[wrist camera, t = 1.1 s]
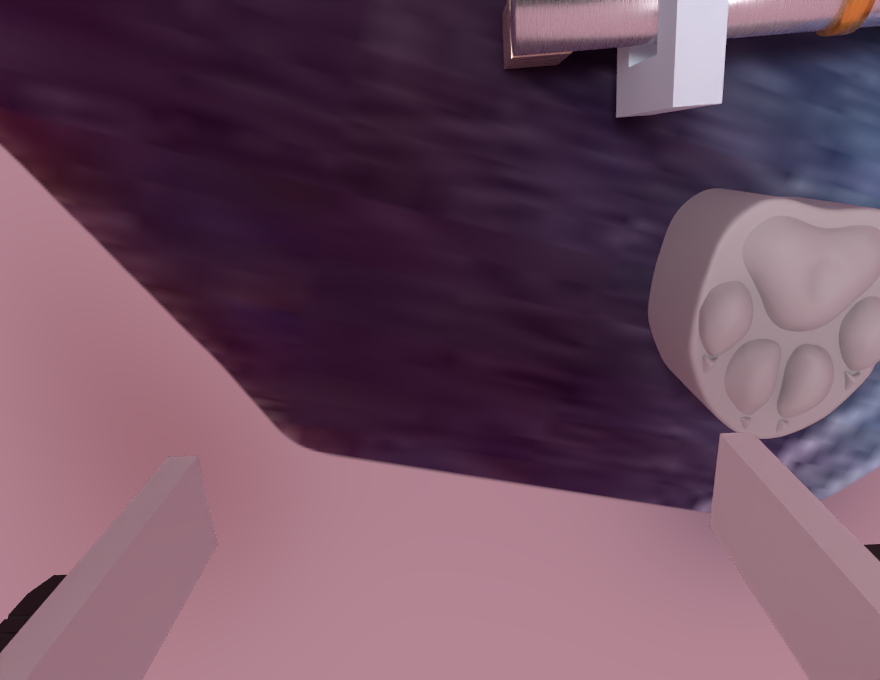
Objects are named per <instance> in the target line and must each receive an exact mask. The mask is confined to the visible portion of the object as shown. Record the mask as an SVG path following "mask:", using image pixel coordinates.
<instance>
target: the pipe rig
mask: <svg viewBox="0 0 880 680" xmlns="http://www.w3.org/2000/svg"><path fill="white" fill-rule="evenodd" d="M658 8H659V0H507V3H506V5H505V8H504V11H503V14H502V25H503V53H504V69H514V68H527V67H539V66H551V65H558V64H559V63H560V62H561V61H563V60H564V59H565V58H566V57H568V56H569V55H570V54H571V53H572V51H582V50H594V49H606V48H619V47H631V46H643V45H655V44H657V36H658ZM873 26H880V0H729V6H728V21H727V35H726V39H728V38H740V37H752V36H764V35H776V34H788V33H800V32H812V31H814V32H815V33H816V34H817V35H819V36H835V35H846V34H850V33H852V32H854V31H856V30H857V29H858V28H861V27H873Z"/></svg>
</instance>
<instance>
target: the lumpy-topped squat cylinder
mask: <svg viewBox="0 0 880 680" xmlns="http://www.w3.org/2000/svg"><path fill="white" fill-rule="evenodd" d="M648 321H649V325H650V329H651V332H652V335H653V338H654V341H655V344H656V346H657V349H658V351H659V353H660V356H661V358H662V359H663V361H664V363H665V364H666V365H667V367H668V368H669V369H670V370H671V371H672V372H673V373H674V374H675V375H676V376H677V378H678V379H679V380H680V381H681V382H682V383H683V384H684V385H685V386H686V387H687V388H688V389H689V390H690V391H691V392H692V393H693V394H694V395H695V396H696V397H697V398H698V399H699V400H700V401H701V402H702V403H703V404H704V405H705V406H706V407H707V408H708V409H709V410H710V411H711V412H712V413H713V414H714V415H715V416H716V417H717V418H718V419H719V420H720V421H721V422H723V423H724V424H725V425H726V426H728V427H729V428H730V429H732V430H733V431H735V432H737V433H742V432H752V433H753V434H754V435H755V436H756V437H757V438H759V439H769V438H776V437H781V436H785V435H788V434H791V433H794V432H796V431H799V430H801V429H803V428H805V427H807V426H809V425H811V424H813V423H815V422H817V421H819V420H821V419H822V418H824V417H825V416H827V415H828V414H829V413H831V412H832V411H833V410H834V409H836V408H837V407H838V406H839V405H840V404H841V403H842V402H844V401H845V400H846V399H847V398H848V397H849V396H850V395H851V394H852V393H853V392H854V391H855V390H856V389H857V388H858V387H859V386H860V385H861V384H862V383H863V382H864V381H865V380H866V378H867V377H868V376H869V375H870V373H871V372H872V370H873V368H874V366H875V364H876V363H877V362H878V361H880V209H876V208H870V207H861V206H856V205H850V204H843V203H836V202H829V201H822V200H815V199H808V198H801V197H793V196H784V197H776V196H771V195H763V194H756V193H749V192H742V191H736V190H729V189H722V188H714V189H708V190H705V191H702V192H700V193H698V194H696V195H695V196H693V197H692V198H690V199H689V200H688V201H687V202H686V203H685V204H683V205H682V207H681V208H680V209H679V210H678V211H677V213H676V214H675V216H674V217H673V219H672V221H671V222H670V225H669V227H668V229H667V232H666V234H665V237H664V240H663V244H662V247H661V250H660V253H659V256H658V259H657V263H656V266H655V271H654V275H653V280H652V285H651V290H650V297H649V304H648Z"/></svg>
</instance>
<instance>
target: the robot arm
mask: <svg viewBox="0 0 880 680" xmlns="http://www.w3.org/2000/svg"><path fill="white" fill-rule="evenodd" d="M710 528H711V529H712V531H713V533H714V534H715V536H716V537H717V539H718V540H719V542H720V543H721V545H722V546H723V548H724V550H725V551H726V552H727V554H728V556H729V557H730V559H731V560H732V562H733V563H734V565H735V566H736V568H737V570H738V571H739V573H740V574H741V576H742V577H743V579H744V580H745V582H746V583H747V585H748V586H749V588H750V589H751V591H752V592H753V594H754V596H755V597H756V599H757V600H758V602H759V603H760V605H761V606H762V608H763V609H764V611H765V612H766V614H767V616H768V617H769V619H770V620H771V622H772V623H773V625H774V626H775V628H776V629H777V631H778V632H779V634H780V635H781V637H782V639H783V640H784V642H785V643H786V645H787V646H788V648H789V649H790V651H791V652H792V654H793V656H794V657H795V659H796V660H797V662H798V663H799V665H800V666H801V667H802V669H803V671H804V672H805V674H806V676H807V677H808V679H809V680H880V544H875V545H874V544H873V545H863V544H862V543H861V542H860V541H859V540H858V539H857V538H856V537H855V536H854V535H853V534H852V533H851V532H850V531H849V530H848V529H847V528H846V527H845V526H844V525H843V524H842V523H841V522H840V521H839V520H838V519H837V518H836V517H835V516H834V515H833V514H832V513H831V512H830V511H829V510H828V509H827V508H826V507H825V506H824V505H823V504H822V503H821V502H820V501H819V500H818V499H817V498H816V497H815V496H814V495H813V494H812V493H811V492H810V491H809V490H808V489H807V488H806V487H805V486H804V485H803V484H802V483H801V481H800V480H799V479H798V478H797V477H796V476H795V475H794V474H793V473H792V472H791V471H790V470H789V469H788V468H787V467H786V466H785V465H784V464H783V463H782V462H781V461H780V460H779V459H778V458H777V457H776V456H775V455H774V454H773V453H772V452H771V451H770V450H769V449H768V448H767V447H766V446H765V445H764V444H763V443H762V442H761V441H760V440H759V439H758V438H757V437H756V436H755V435H754V434H753V433H752V432H742V433H720V438H719V447H718V456H717V465H716V474H715V483H714V491H713V500H712V509H711V518H710ZM217 545H218V543H217V539H216V534H215V530H214V525H213V521H212V516H211V512H210V507H209V503H208V498H207V494H206V489H205V484H204V480H203V476H202V471H201V467H200V462H199V457H198V456H174V457H168V458H167V459H166V460H165V462H164V463H163V464H162V465H161V466H160V467H159V469H158V470H157V471H156V472H155V473H154V474H153V476H152V477H151V478H150V479H149V480H148V481H147V483H146V484H145V485H144V486H143V487H142V488H141V490H140V491H139V492H138V493H137V494H136V495H135V497H134V498H133V499H132V500H131V501H130V502H129V504H128V505H127V506H126V507H125V508H124V510H123V511H122V512H121V513H120V514H119V515H118V516H117V518H116V519H115V520H114V521H113V522H112V523H111V525H110V526H109V527H108V528H107V529H106V530H105V532H104V533H103V534H102V535H101V536H100V537H99V539H98V540H97V541H96V542H95V543H94V544H93V546H92V547H91V548H90V549H89V550H88V551H87V553H86V554H85V555H84V556H83V557H82V558H81V560H80V561H79V562H78V563H77V564H76V565H75V567H74V568H73V569H72V570H71V571H70V572H69V574H68V575H54V576H52V577H51V578H49V579H48V580H47V581H45V582H44V583H42V584H41V585H39V586H38V587H37V588H35V589H34V590H32V591H31V592H30V593H28V594H27V595H26V596H25V597H24V598H23V600H22V601H21V602H20V603H19V604H18V605H17V606H16V608H14V609H13V611H12V612H11V613H10V614H9V616H8V619H5V620H4V621H3V622H2V623H1V624H0V680H143V678H144V676H145V674H146V672H147V671H148V669H149V667H150V665H151V663H152V662H153V660H154V658H155V656H156V654H157V653H158V651H159V649H160V647H161V645H162V644H163V642H164V640H165V638H166V637H167V635H168V633H169V631H170V629H171V627H172V626H173V624H174V622H175V620H176V619H177V617H178V615H179V613H180V611H181V610H182V608H183V606H184V604H185V603H186V601H187V599H188V597H189V595H190V594H191V592H192V590H193V588H194V586H195V585H196V583H197V581H198V579H199V578H200V576H201V574H202V572H203V570H204V569H205V567H206V565H207V563H208V561H209V560H210V557H211V556H212V554H213V552H214V551H215V549H216V547H217Z"/></svg>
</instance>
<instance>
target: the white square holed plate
mask: <svg viewBox="0 0 880 680" xmlns="http://www.w3.org/2000/svg"><path fill="white" fill-rule="evenodd" d="M728 6H729V0H659V8H658V36H657V44H655V45H643V46H631V47H619V48H617V97H616V118H618V117H631V116H644V115H654V114H660V113H667V112H673V111H679V110H685V109H691V108H697V107H703V106H709V105H715V104H721V103H722V94H723V80H724V65H725V50H726V35H727V21H728Z"/></svg>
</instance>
